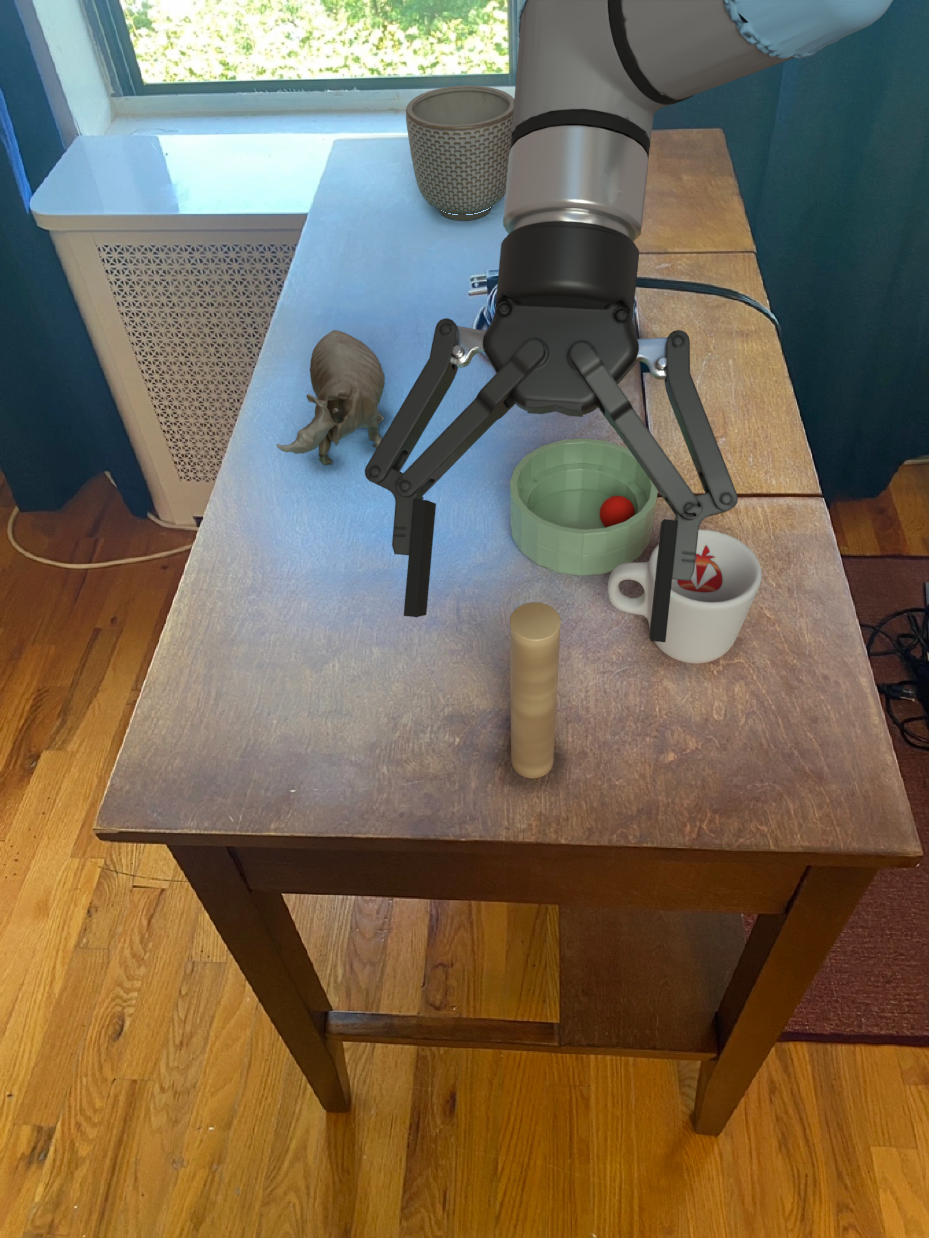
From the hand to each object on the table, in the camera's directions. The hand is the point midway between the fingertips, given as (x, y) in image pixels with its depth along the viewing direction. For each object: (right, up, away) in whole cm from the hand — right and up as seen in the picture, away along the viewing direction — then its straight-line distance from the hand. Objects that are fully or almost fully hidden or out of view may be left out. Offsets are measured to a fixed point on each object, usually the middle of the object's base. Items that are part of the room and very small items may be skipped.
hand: (533, 628), depth 51 cm
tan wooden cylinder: (+1, -10, +14) cm, 17 cm away
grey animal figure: (-16, +18, +39) cm, 46 cm away
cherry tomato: (+9, +10, +27) cm, 30 cm away
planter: (-4, +55, +72) cm, 91 cm away
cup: (+12, -1, +21) cm, 25 cm away
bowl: (+6, +8, +29) cm, 31 cm away
